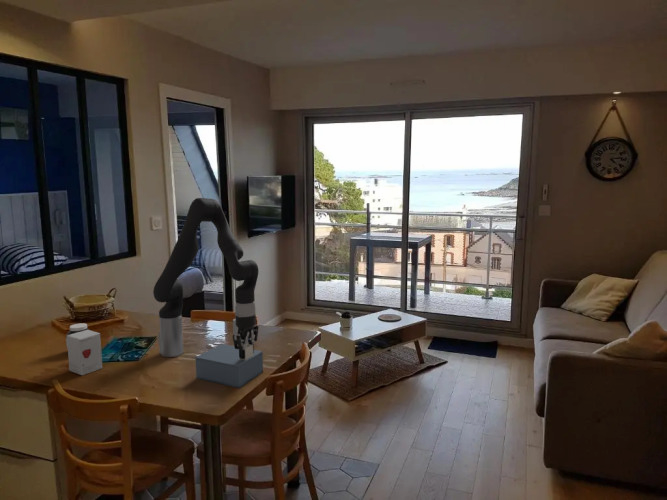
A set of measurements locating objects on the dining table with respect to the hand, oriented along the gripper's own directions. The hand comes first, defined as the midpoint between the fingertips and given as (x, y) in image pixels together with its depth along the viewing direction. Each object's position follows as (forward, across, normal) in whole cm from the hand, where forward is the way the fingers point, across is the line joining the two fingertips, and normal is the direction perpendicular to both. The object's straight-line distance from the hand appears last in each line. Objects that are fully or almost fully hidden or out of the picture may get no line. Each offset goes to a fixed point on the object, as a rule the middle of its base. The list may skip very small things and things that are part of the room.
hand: (246, 355), depth 182 cm
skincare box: (+10, -23, -18) cm, 31 cm away
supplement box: (+10, +20, -64) cm, 68 cm away
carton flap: (+1, 0, -8) cm, 8 cm away
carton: (+9, 0, -8) cm, 12 cm away
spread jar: (+10, +8, -83) cm, 84 cm away
